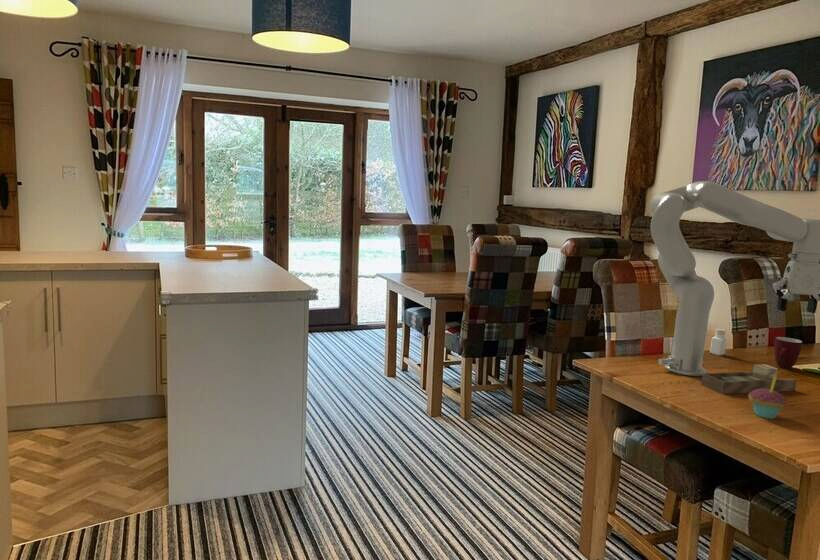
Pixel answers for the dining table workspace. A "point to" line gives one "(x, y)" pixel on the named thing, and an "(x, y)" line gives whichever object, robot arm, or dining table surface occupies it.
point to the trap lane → (743, 382)
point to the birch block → (764, 372)
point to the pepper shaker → (718, 343)
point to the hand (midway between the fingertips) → (796, 311)
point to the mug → (787, 351)
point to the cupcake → (767, 401)
